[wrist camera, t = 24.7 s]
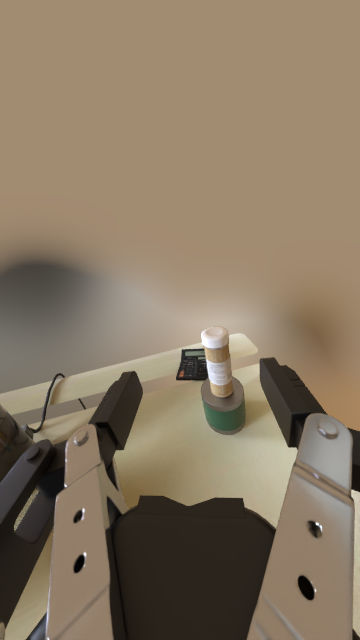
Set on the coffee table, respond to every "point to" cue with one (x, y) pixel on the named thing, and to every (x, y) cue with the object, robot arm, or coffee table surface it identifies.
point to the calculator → (193, 365)
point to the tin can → (224, 408)
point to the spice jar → (218, 360)
